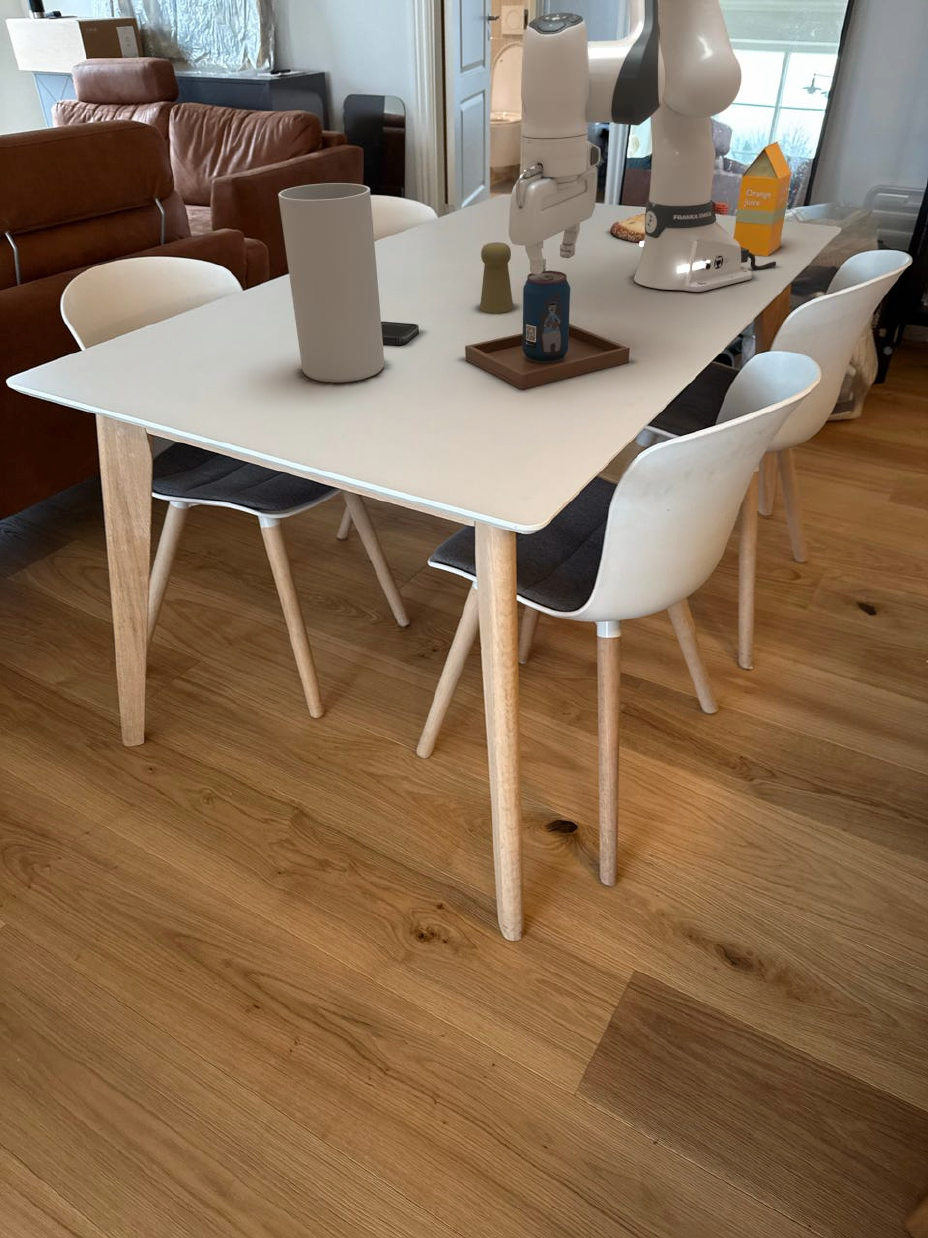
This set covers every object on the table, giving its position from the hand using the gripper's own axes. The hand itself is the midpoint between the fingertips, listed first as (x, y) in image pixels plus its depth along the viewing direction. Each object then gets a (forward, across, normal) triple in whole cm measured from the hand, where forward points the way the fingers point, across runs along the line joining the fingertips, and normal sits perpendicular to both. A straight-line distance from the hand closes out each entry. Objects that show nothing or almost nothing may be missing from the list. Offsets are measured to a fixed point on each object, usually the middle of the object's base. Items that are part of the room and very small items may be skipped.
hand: (553, 264), depth 130 cm
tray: (+14, 0, +1) cm, 14 cm away
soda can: (+14, 0, +1) cm, 14 cm away
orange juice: (+15, +81, -7) cm, 83 cm away
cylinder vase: (+14, -17, +27) cm, 35 cm away
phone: (+14, -2, +33) cm, 36 cm away
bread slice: (+15, +84, +17) cm, 87 cm away
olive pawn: (+14, +21, +21) cm, 33 cm away
